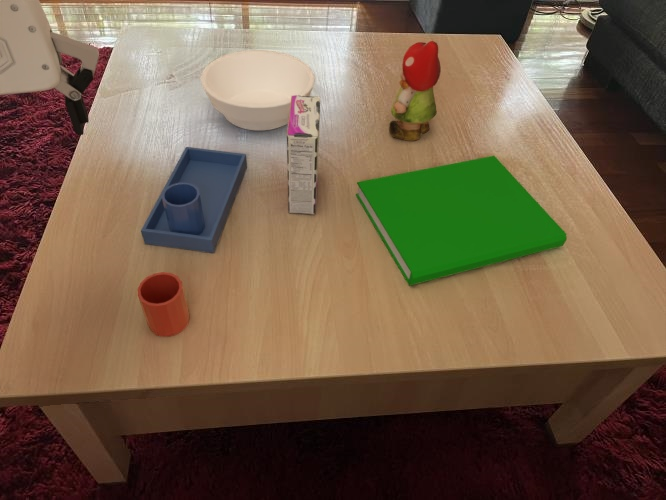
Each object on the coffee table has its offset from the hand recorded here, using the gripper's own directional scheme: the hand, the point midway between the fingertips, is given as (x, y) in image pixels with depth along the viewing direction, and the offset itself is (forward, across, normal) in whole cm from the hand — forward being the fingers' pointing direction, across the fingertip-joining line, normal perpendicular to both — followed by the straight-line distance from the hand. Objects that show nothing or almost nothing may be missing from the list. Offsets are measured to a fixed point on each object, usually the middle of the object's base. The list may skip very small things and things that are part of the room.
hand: (31, 133), depth 55 cm
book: (+28, +58, +3) cm, 64 cm away
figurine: (+28, +60, +30) cm, 73 cm away
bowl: (+28, +32, +43) cm, 60 cm away
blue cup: (+27, +13, +11) cm, 32 cm away
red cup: (+28, +9, -6) cm, 30 cm away
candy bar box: (+28, +34, +16) cm, 47 cm away
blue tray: (+28, +16, +18) cm, 36 cm away
